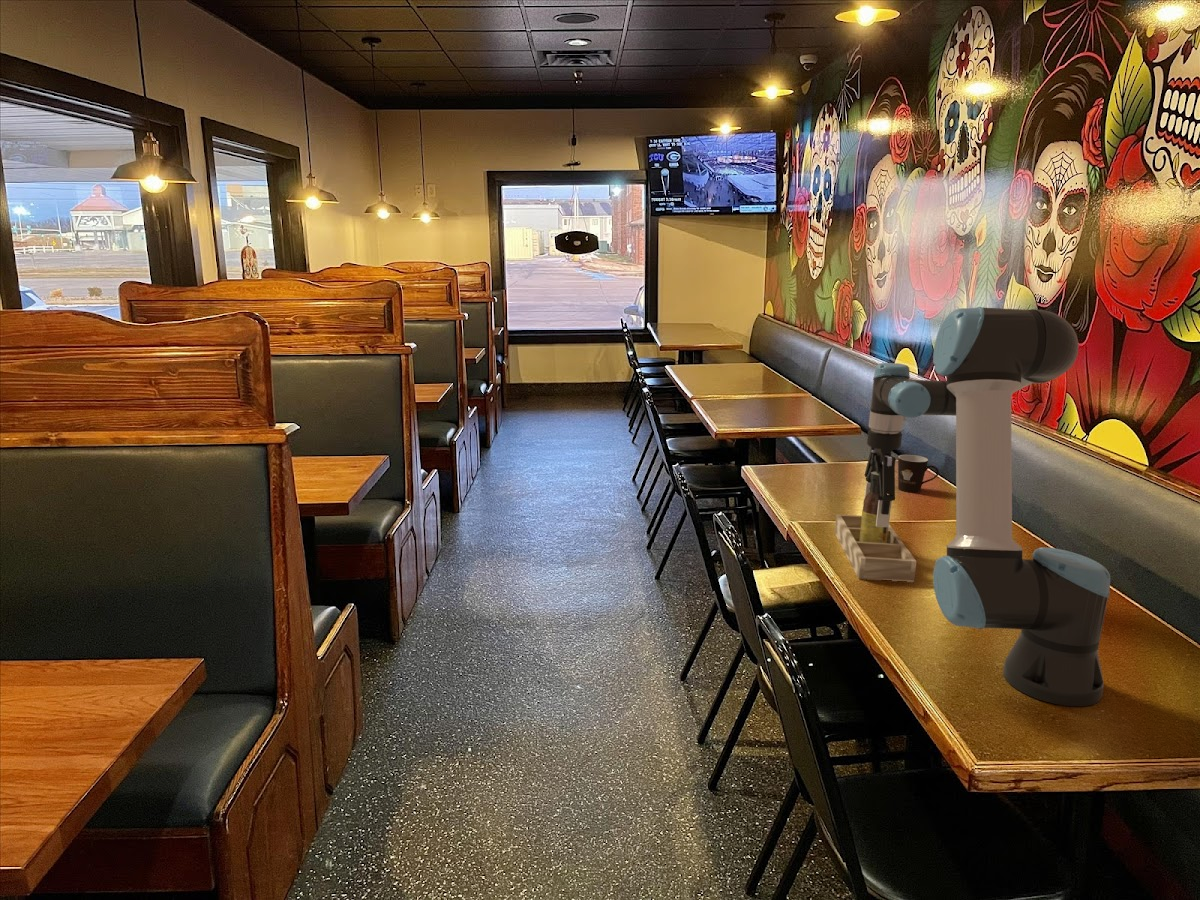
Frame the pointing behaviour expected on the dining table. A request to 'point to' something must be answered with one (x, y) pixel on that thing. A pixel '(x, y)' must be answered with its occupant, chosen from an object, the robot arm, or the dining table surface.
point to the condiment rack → (874, 553)
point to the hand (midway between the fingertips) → (875, 517)
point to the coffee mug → (912, 472)
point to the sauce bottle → (872, 515)
